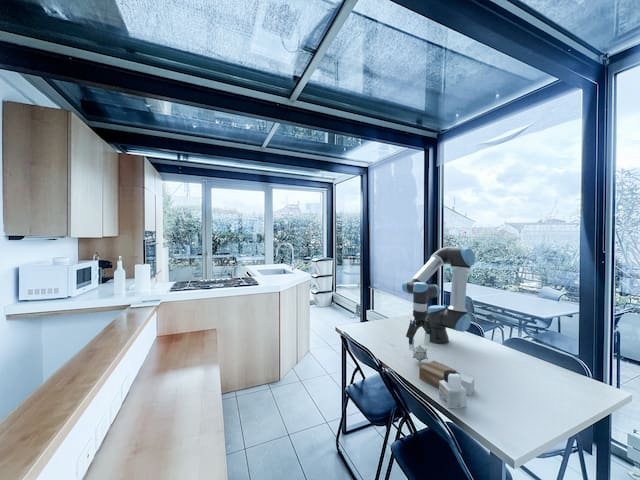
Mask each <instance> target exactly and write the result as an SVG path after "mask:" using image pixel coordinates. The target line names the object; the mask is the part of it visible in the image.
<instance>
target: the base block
mask: <svg viewBox="0 0 640 480" xmlns="http://www.w3.org/2000/svg"><path fill="white" fill-rule="evenodd" d="M446 370H453V371H456V372H457V370H456V369H455V368H454V369H453V368H451V367H450V366H447V365H445V364H442V363H440V362H438V361H436V360H433V361H429V362H427V363H424V364H423V365H419V371H418V372H419V373H418V375H419V379H420V380H421V381H423V382H425V383H427V384H429V385H431V386H432V387H435V388H437V389H438V390H439V381H441V380H444V372H445V371H446Z"/></svg>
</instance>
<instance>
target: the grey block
mask: <svg viewBox="0 0 640 480" xmlns="http://www.w3.org/2000/svg"><path fill="white" fill-rule="evenodd" d="M459 374H460V375H461V385H462V386H463V387H464V388H465V389H466V396H469V397H472V395H473V393H474V391H475V378H474V377H472V376H470V375H466V374H463V373H459Z"/></svg>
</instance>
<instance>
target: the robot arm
mask: <svg viewBox="0 0 640 480" xmlns="http://www.w3.org/2000/svg"><path fill="white" fill-rule="evenodd" d="M475 261H476V257H475V253H474V250H472V248H470V247H464V246H462V247H461V246H445V247H442V248H439V249H438V250H437V251H435V252H434V253H433V254H432V255H431V256H430V257H429V260H428V261H427V262H426V263H425V264H424V265H423V266H422V268H420V269H419V271H418V272H417V273H416V274H415V275H414V276H413V277H412V278H411V279H410V280H405V281H403V283H402V284H401V290H402V291H403V293H406V294H408V295H413V296H412V297H413V298H412V299H413V300H412V302H413V304H412V308H413V310H412V316H413V318H414V319H410V320H409V325H408V328H407V332H406V334H405V337H406V338H408V350H410V351H412V352H413V351H414V348H415V338H414V337H415V335H416V333H417V331H418V330H419V329H420V328H421V327H422V330H423V331H425V332H424V345H425V346H428V347H429V346H430V342H431V343H433V344H447V343H449V335H448V332H447V329H446V328H448V329H450V330H454V331H456V332H461V333H465V332H466V331H468V329H469V328H470V326H471V322H472V318H471V316H470V314H468V310H467V308H466V300H467V299H466V298H467V297H466V296H467V283H468V271H469V270H471V267H473V266H474V265H475ZM446 264H449V265H450V268H451V269H452V274H451V275H452V276H451V288H450V289H451V290H450V299H449V300H450V303H449V306H448V307H447V306H445V305H439V304H438V305H430V306H428V299H431V298H432V299H434V298H437V297H439V296H440V295H441V288H440V286H438V285H437V284H434V283H433V284H431V283H430V284H427V283H426V282H427V281H428V280H429V279H431V277H432V276H433V275H434V274H435V272H437V270H438V269H439V268H441V267H442V266H444V265H446ZM446 307H447V308H446Z"/></svg>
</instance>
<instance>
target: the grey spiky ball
mask: <svg viewBox="0 0 640 480" xmlns="http://www.w3.org/2000/svg"><path fill="white" fill-rule="evenodd" d="M427 351H428V348H426V349H425V348H424V347H422V346H421V344H419V345H418V346H416V347H414V351H412V353H413V356H412V358H413V359H416V360H418V362H419V363H421V361H423V360H429V358H428V356H427Z"/></svg>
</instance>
